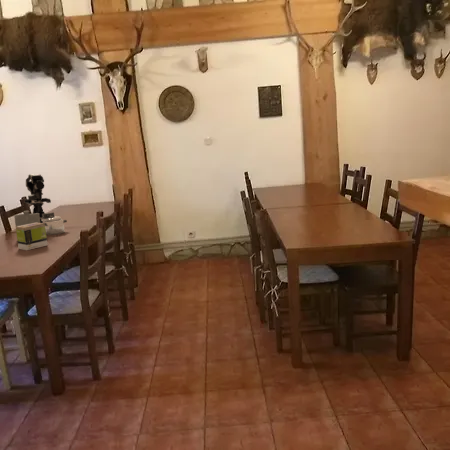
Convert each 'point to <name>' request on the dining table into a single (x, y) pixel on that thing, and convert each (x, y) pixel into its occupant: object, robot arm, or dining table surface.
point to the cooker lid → (50, 217)
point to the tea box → (31, 236)
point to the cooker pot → (54, 227)
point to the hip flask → (26, 218)
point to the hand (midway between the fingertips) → (37, 212)
